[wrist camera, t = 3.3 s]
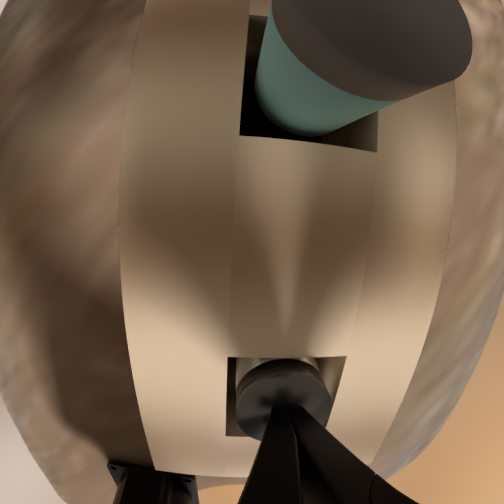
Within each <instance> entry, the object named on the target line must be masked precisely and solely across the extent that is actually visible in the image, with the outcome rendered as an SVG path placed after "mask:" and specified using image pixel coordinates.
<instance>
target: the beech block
mask: <svg viewBox="0 0 504 504" xmlns="http://www.w3.org/2000/svg"><path fill="white" fill-rule="evenodd" d="M271 1H272V0H146V4H145V7H144V11H143V15H142V19H141V23H140V27H139V31H138V36H137V40H136V45H135V50H134V55H133V60H132V66H131V72H130V78H129V84H128V91H127V98H126V105H125V113H124V122H123V132H122V144H121V158H120V177H119V254H120V273H121V288H122V299H123V310H124V319H125V328H126V336H127V343H128V350H129V356H130V363H131V369H132V374H133V380H134V385H135V391H136V396H137V400H138V405H139V410H140V414H141V418H142V423H143V427H144V431H145V435H146V439H147V442H148V446H149V450H150V453H151V457H152V460H153V464H154V467H155V470H159V471H165V472H173V473H181V474H191V475H202V476H219V477H248V476H249V473H250V470H251V468H252V465H253V462H254V459H255V457H256V454H257V451H258V448H259V445H260V442H261V441H259V440H256V439H253V438H252V437H250V436H248V435H247V434H245V433H244V432H243V431H242V429H241V428H240V427H239V425H238V422H237V413H236V357H249V358H309V357H314V359H315V362H316V364H317V366H318V369H319V371H320V373H321V376H322V378H323V380H324V383H325V385H326V387H327V390H328V392H329V394H330V397H331V400H332V409H331V413H330V415H329V417H328V419H327V420H326V422H325V423H324V424H323V425H322V426H323V427H325V428H326V429H327V430H328V431H329V432H330V433H331V434H332V435H333V436H334V437H335V438H336V439H338V440H339V441H340V442H341V443H342V444H343V445H344V446H345V447H346V448H347V449H349V450H350V451H351V452H352V453H353V454H354V455H355V456H356V457H358V458H359V459H360V460H361V461H362V462H363V463H365V464H366V465H367V464H371V462H372V460H373V458H374V457H375V455H376V453H377V451H378V449H379V447H380V446H381V444H382V442H383V440H384V438H385V436H386V434H387V432H388V430H389V428H390V426H391V424H392V422H393V420H394V418H395V416H396V413H397V411H398V409H399V407H400V405H401V402H402V400H403V398H404V395H405V393H406V391H407V388H408V386H409V383H410V381H411V378H412V376H413V373H414V370H415V368H416V365H417V362H418V359H419V357H420V354H421V351H422V348H423V345H424V342H425V339H426V336H427V332H428V329H429V326H430V322H431V319H432V315H433V312H434V308H435V304H436V300H437V296H438V292H439V288H440V284H441V279H442V275H443V270H444V265H445V260H446V255H447V249H448V243H449V237H450V230H451V223H452V215H453V206H454V195H455V182H456V163H457V118H456V99H455V87H454V80H452V81H450V82H447V83H445V84H442V85H439V86H437V87H434V88H431V89H429V90H426V91H424V92H421V93H419V94H416V95H414V96H411V97H409V98H406V99H404V100H401V101H399V102H397V103H394V104H392V105H390V106H387V107H385V108H383V109H380V110H378V111H376V112H373V113H371V114H369V115H367V116H365V117H362V118H360V119H358V120H356V121H354V122H351V123H349V124H347V125H345V126H343V127H341V128H339V129H336V130H334V131H332V132H330V133H328V134H325V135H322V144H320V143H312V142H304V141H296V140H287V139H276V138H265V137H252V136H239V129H240V116H241V103H242V90H243V78H255V76H256V71H257V66H258V61H259V56H260V52H261V47H262V42H263V37H264V33H265V28H266V24H267V19H268V15H269V10H270V6H271Z"/></svg>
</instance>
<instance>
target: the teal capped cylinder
mask: <svg viewBox="0 0 504 504" xmlns="http://www.w3.org/2000/svg"><path fill="white" fill-rule="evenodd" d="M471 55H472V36H471V30H470V27H469V23H468V20H467V18H466V15H465V13H464V11H463V9H462V7H461V5H460V3H459V1H458V0H272V1H271V6H270V10H269V15H268V19H267V24H266V28H265V33H264V37H263V42H262V47H261V52H260V56H259V61H258V66H257V71H256V76H255V82H254V90H255V96H256V99H257V102H258V104H259V106H260V108H261V110H262V111H263V113H264V114H265V115H266V116H267V118H268V119H269V120H270V121H271V122H272V123H274V124H275V125H276V126H278V127H279V128H281V129H283V130H285V131H287V132H289V133H292V134H295V135H299V136H307V137H313V136H321V135H325V134H328V133H330V132H332V131H334V130H336V129H339V128H341V127H343V126H345V125H347V124H349V123H351V122H354V121H356V120H358V119H360V118H362V117H365V116H367V115H369V114H371V113H373V112H376V111H378V110H380V109H383V108H385V107H387V106H390V105H392V104H394V103H397V102H399V101H401V100H404V99H406V98H409V97H411V96H414V95H416V94H419V93H421V92H424V91H426V90H429V89H431V88H434V87H437V86H439V85H442V84H445V83H447V82H450V81H452V80H455V79H456V78H458V77H459V76H460V75H461V74H462V73H463V72H464V71H465V70H466V68H467V66H468V64H469V62H470V59H471Z"/></svg>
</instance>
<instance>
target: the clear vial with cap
mask: <svg viewBox="0 0 504 504" xmlns="http://www.w3.org/2000/svg"><path fill="white" fill-rule="evenodd" d="M290 405H301V406H303V407H304V408H305V409H306V410H307V411H308V412H309V413H310V414H311V415H312V416H313V417H314V418H315V419H316V420H317V421H318V422H319V423H320V424H321V425H323V424H324V423H325V422H326V420H327V419H328V417H329V415H330V413H331V409H332V400H331V397H330V394H329V392H328V390H327V387H326V385H325V383H324V380H323V378H322V376H321V373H320V371H319V369H318V366H317V364H316V362H315V359H314V357H309V358H249V357H236V413H237V422H238V425H239V427H240V428H241V429H242V431H243V432H244V433H245V434H247V435H248V436H250V437H252V438H253V439H256V440H259V441H261V439H262V436H263V433H264V430H265V428H266V424H267V421H268V418H269V415H270V412H271V409H272V407H273V406H286V407H287V406H290Z"/></svg>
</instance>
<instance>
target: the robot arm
mask: <svg viewBox="0 0 504 504" xmlns="http://www.w3.org/2000/svg"><path fill="white" fill-rule="evenodd" d="M107 467H108V469H109V471H110V473H111V475H112V477H113V479H114V481H115V483H116V485H117V491H116V494H115V498H114V501H113V504H199V498H198V492H197V485H196V478H195V476H194V475H191V474H181V473H173V472H165V471H159V470H155V469H152V468H146V467H141V466H136V465H131V464H126V463H121V462H117V461H112V460H109V461H108V463H107ZM238 504H419V503H417V502H415V501H414V500H412V499H410V498H409V497H407V496H406V495H404V494H403V493H401V492H400V491H398V490H397V489H395V488H394V487H393V486H391V485H390V484H389V483H387V482H386V481H385V480H384V479H382V478H381V477H380V476H379V475H378V474H375V472H374V471H373V470H372V469H370V468H369V467H368V466H367V465H366V464H365V463H363V462H362V461H361V460H360V459H359V458H358V457H356V456H355V455H354V454H353V453H352V452H351V451H350V450H349V449H347V448H346V447H345V446H344V445H343V444H342V443H341V442H340V441H339V440H338V439H336V438H335V437H334V436H333V435H332V434H331V433H330V432H329V431H328V430H327V429H326V428H325V427H323V426H322V425H321V424H320V423H319V422H318V421H317V420H316V419H315V418H314V417H313V416H312V415H311V414H310V413H309V412H308V411H307V410H306V409H305V408H304V407H303V406H301V405H290V406H287V407H286V406H273V407H272V409H271V412H270V415H269V418H268V421H267V424H266V428H265V430H264V433H263V436H262V439H261V442H260V445H259V448H258V451H257V454H256V457H255V459H254V462H253V465H252V468H251V470H250V473H249V476H248V478H247V481H246V484H245V486H244V490H243V491H242V494H241V496H240V499H239V502H238Z"/></svg>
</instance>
